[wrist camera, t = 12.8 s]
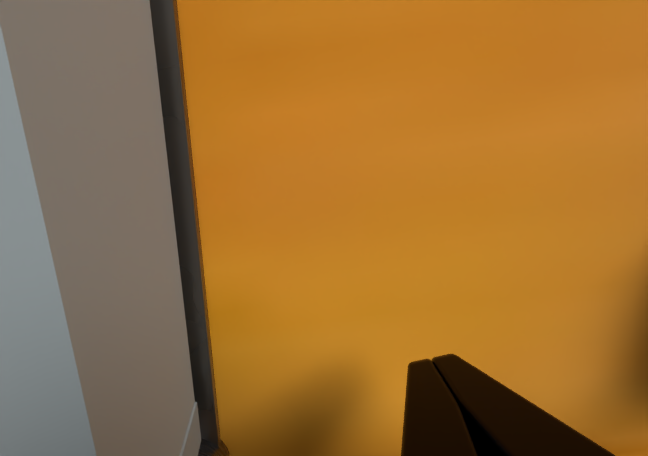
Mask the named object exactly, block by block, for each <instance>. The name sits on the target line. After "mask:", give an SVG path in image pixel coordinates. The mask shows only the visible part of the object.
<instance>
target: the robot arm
mask: <svg viewBox="0 0 648 456" xmlns="http://www.w3.org/2000/svg"><path fill="white" fill-rule="evenodd" d="M401 456H615V455H614V454H612V453H611V452H609V451H607V450H606V449H604V448H603V447H601V446H599V445H598V444H596V443H595V442H593V441H592V440H590V439H588V438H587V437H585V436H584V435H582V434H580V433H579V432H577V431H576V430H574V429H572V428H571V427H569V426H568V425H566V424H565V423H563V422H561V421H560V420H558V419H557V418H555V417H553V416H552V415H550V414H549V413H547V412H545V411H544V410H542V409H541V408H539V407H538V406H536V405H534V404H533V403H531V402H530V401H528V400H526V399H525V398H523V397H522V396H520V395H518V394H517V393H515V392H514V391H512V390H511V389H509V388H507V387H506V386H504V385H503V384H501V383H499V382H498V381H496V380H495V379H493V378H491V377H490V376H488V375H487V374H485V373H484V372H482V371H480V370H479V369H477V368H476V367H474V366H472V365H471V364H469V363H468V362H466V361H465V360H463V359H461V358H460V357H458V356H457V355H454V354H447V355H442V356H438V357H434V358H433V359H432V360H429V359H424V360H419V361H414V362H411V363H409V365H408V373H407V386H406V399H405V412H404V425H403V437H402V450H401Z"/></svg>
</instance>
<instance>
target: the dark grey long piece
mask: <svg viewBox="0 0 648 456" xmlns="http://www.w3.org/2000/svg"><path fill="white" fill-rule="evenodd" d="M149 1H150V10H151V19H152V27H153V36H154V45H155V54H156V63H157V72H158V80H159V89H160V98H161V107H162V116H163V125H164V133H165V142H166V151H167V160H168V169H169V178H170V186H171V195H172V204H173V213H174V222H175V231H176V239H177V248H178V257H179V266H180V275H181V284H182V292H183V301H184V310H185V319H186V328H187V337H188V345H189V354H190V363H191V372H192V381H193V390H194V398H195V402H197V406H198V415H199V424H200V433H201V444H200V448H199V452H198V456H229V452H228V449H227V447H226V446H225V444H224V443H223V441H222V440H221V439H220V429H219V419H218V409H217V399H216V389H215V379H214V369H213V359H212V350H211V340H210V330H209V320H208V310H207V300H206V290H205V280H204V270H203V260H202V250H201V240H200V230H199V220H198V210H197V200H196V190H195V180H194V170H193V160H192V150H191V140H190V130H189V120H188V110H187V100H186V90H185V80H184V70H183V60H182V51H181V41H180V31H179V21H178V11H177V1H176V0H149Z"/></svg>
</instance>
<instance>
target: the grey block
mask: <svg viewBox="0 0 648 456" xmlns="http://www.w3.org/2000/svg"><path fill="white" fill-rule="evenodd" d="M200 444H201V433H200V424H199V415H198V406H197V402H195V398H194V390H193V381H192V372H191V363H190V354H189V345H188V337H187V328H186V319H185V310H184V301H183V292H182V284H181V275H180V266H179V257H178V248H177V239H176V231H175V222H174V213H173V204H172V195H171V186H170V178H169V169H168V160H167V151H166V142H165V133H164V125H163V116H162V107H161V98H160V89H159V80H158V72H157V63H156V54H155V45H154V36H153V27H152V19H151V10H150V1H149V0H0V456H198V452H199V448H200Z"/></svg>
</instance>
